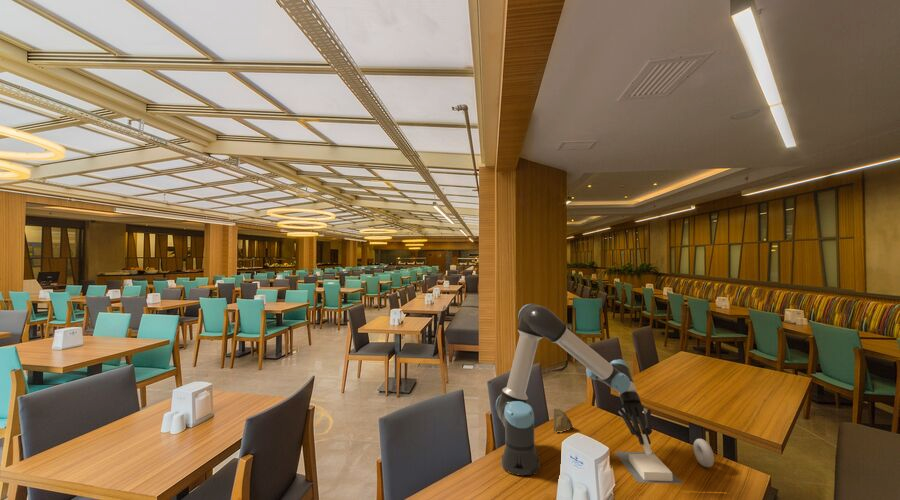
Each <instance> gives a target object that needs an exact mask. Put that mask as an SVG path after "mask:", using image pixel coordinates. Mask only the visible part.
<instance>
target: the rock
mask: <svg viewBox="0 0 900 500" xmlns="http://www.w3.org/2000/svg"><path fill="white" fill-rule="evenodd" d="M553 419H554V422H553V432H554V431H555V432H557V431H564V430H567V429H569V428H573V429H574V426H573V424H572V422H571V419H570V418H569V417H568V415H567V413H566V412H564V411H563V410H562V409H559V408H554V409H553ZM555 432H554V433H555Z"/></svg>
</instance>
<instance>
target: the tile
mask: <svg viewBox="0 0 900 500" xmlns="http://www.w3.org/2000/svg"><path fill="white" fill-rule="evenodd" d="M657 457H658V456H657V455H656V454H655V453H654V454H650V455H646V454H629V462H630V463H631V464H632V466H633V467H634V468H635V469H636V471H637V472H638V473H639V474H640V476H641V477H642V478H643V479H644V480H646V481H673V478H672V473H673V472H672V471H671V470H670V468H669V467H668V466H667V465H666V464H665V463H664V462H663V461H662V460H661V459H660V458H659V457H658V458H659V459H660V460H661V461H662V462H663V463H664V464H665V465H666V466H667V467H668V468H669V469H668V468H667V467H666V466H665V465H664V464H663V463H662V462H661V461H660V460H659V459H658V458H657Z"/></svg>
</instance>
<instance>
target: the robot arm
mask: <svg viewBox="0 0 900 500" xmlns="http://www.w3.org/2000/svg"><path fill="white" fill-rule="evenodd" d="M517 317H518V321H519V322H518V327H517V332H518V334H519V337H518V341H517V343H516V344H517V345H516V349H515V352H514V356H513V360H512V365H511V368H510V371H509V372H510V373H509V376H508V380H507V384H506V387H504V388H502V390H501V393H500V395H499V396H498V397H497V399H496V400H495V410H496V414H497V416H498V418H499V420H500V421H501V423H502V424H503V427H504V434H505V440H504V441H505V443H504V444H505V446H504V450H503V453H502V456H501V467H502V466H503V467H502V469H503V468H504V469H505V470H507V471H509V472H511V473H513V474H519V475H531V474H534V473H536V472H537V471H538V470H539V471H540V469H541V466H540V465H541V464H540V463H541V462H540V458H539V457H538V452H537V450H536V446H535V414H534V409H533V407H532V406H531V405H530V404H528V400H529V397H528V396H527V394H526V392H527V388H528V385H529V381H530V377H531V373H532V369H533V363H534V360H535V356H536V352H537V348H538V345H539V344H538V343H539V341H540V340H542V339H543V338H545V339H546V340H548V341H550V342H551V343H552V344H553V343H554V344H557V345H558V346H559V347H560V348H562V349H563V350H564V351H565V352H567V353H568V354H569V355H570V356H571V357H572V358H574V359H575V360H577V361H578V362H579V364H582V365H583V367H585V372H586V373H585V374H586V376H587V377H588V379H591V380H593V381H595V380H596V381H600V382H602V383H603V384H605V385H607V386H608V387H609V388H612V390H614V391H616V392H617V393H618V395H619V398H620V401H621V405H622V407H621V408H620V409H619V410H618V412H617V413H618V414H619V415H620V416H621V418H622V420H623V421H624V423H625V425H626V426H627V429H628V430H629V432H630V433H631V435H632V436H636V438H637V439H638V442H639V444H640V445H642V447H643V450H644V451H643V452H645V454H646V455H650V454H651V453H652V451H653V450H652V448H651V446H650V445H651V443H652V442H651V438H650V437H649V436H650V435H651V434H652V433H653V429H652V421H651V412H652V410H651V409H649V408H648V409H647V408H645V407H644V405H643V404H642V401H641V398H640V396H639V394H638V391H637V387H636V385H635V383H634V379H633V376H632V374H631V371H630V368H629V366H628V364H627V362H626V361H625V360H624V359H621V358H620V359H613V360H612V361H610V362H608V361H607V360H606V359H605V358H604V357H602V356H601V354H599V353H598V352H597V351H595V350H594V349H593V348H591V347H590V345H588V344H587V343H585V342H584V341H583V340H582V339H581V338H580V337H578V336H577V335H576V334H575V333H574V332H572V331H571V330H570V329H568V325H567V324H566V323H565V322H563V321H562V319H560V318H559V316H557V315H556V314H555V313H554V312H553V311H552V310H550V309H549V308H548V307H546V306H543V305H539V304H536V303H528V304H525V305H523V306H522V307H521V308H520V310H519V312H518V315H517ZM642 414H644V418H643V415H642ZM628 415H629V416H628ZM644 421H645V422H644ZM539 468H540V469H539ZM504 469H503V470H504ZM505 470H504V471H505ZM507 471H506V472H507ZM539 471H538V472H539ZM538 472H537V473H538ZM537 473H536V474H537ZM513 474H512V475H513ZM534 475H535V474H534ZM531 476H532V475H531Z"/></svg>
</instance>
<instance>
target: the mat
mask: <svg viewBox="0 0 900 500" xmlns="http://www.w3.org/2000/svg"><path fill="white" fill-rule="evenodd" d="M614 454H615V455H616V456H617V458H618V459H619V460H620V461H621V463H622V465H624V467H625V468H626V469H627V470H628V472H629V473H630V474H631V476H632V477H633V479H634V480H635V481H636V482H637V484H673V485H674V484H675V485H676V484H677V485H678V484H679V485H684V483H683V482H682V480H681V479H679V477H677V476H676V475H675V474H674V473H673V472H672V478H673V481H646V480H644V479H643V478H642V477H641V476H640V474H639V473H638V472H637V471H636V469H635V468H634V467H633V466H632V464H631V463H630V462H629V454H645V451H614ZM651 454H655V453H654V452H652V453H651ZM657 458H658V459H659V460H660V461H661V462H662V463H663V464H664V465H665V466H666V467H667V468H668V469H669V470H670V468H669V467H668V466H667V465H666V464H665V463H664V462H663V461H662V460H661V459H660V458H659V457H658V456H657Z"/></svg>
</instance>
